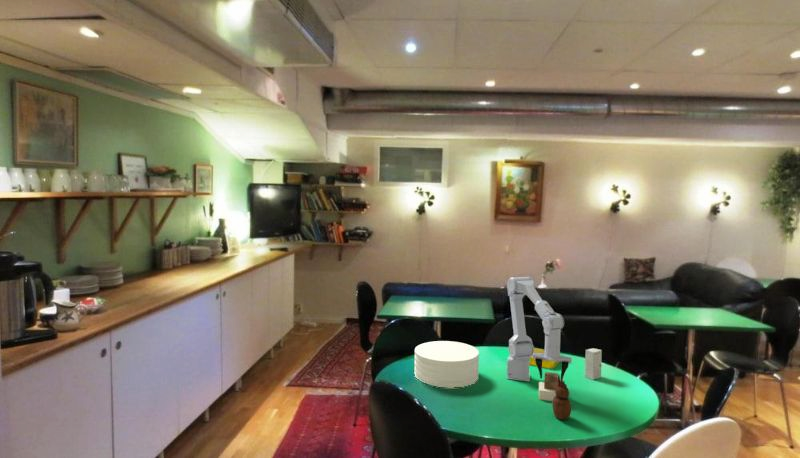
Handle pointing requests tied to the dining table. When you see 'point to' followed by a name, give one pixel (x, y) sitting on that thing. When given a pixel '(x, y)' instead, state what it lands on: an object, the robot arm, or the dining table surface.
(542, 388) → the cream base block
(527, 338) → the robot arm
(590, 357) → the skincare box
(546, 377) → the walnut cube
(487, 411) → the dining table surface
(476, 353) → the plate stack
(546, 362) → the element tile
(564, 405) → the wooden figurine
